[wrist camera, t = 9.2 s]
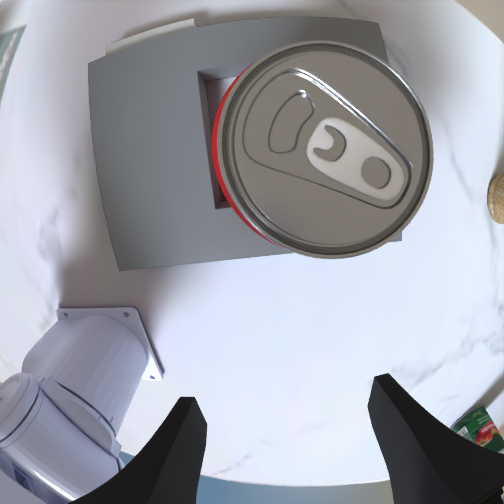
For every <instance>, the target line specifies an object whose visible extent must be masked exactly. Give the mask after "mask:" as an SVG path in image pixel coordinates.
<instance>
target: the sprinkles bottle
mask: <svg viewBox="0 0 504 504" xmlns="http://www.w3.org/2000/svg"><path fill="white" fill-rule="evenodd" d="M488 208H489V212H490V215H491V217H492V219H493V220H494V221H495V222H497V223H500V224H504V174H500V175H497V176H496V178H495V179H494V180H493V182H492V183H491V186H490V188H489V194H488Z"/></svg>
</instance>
